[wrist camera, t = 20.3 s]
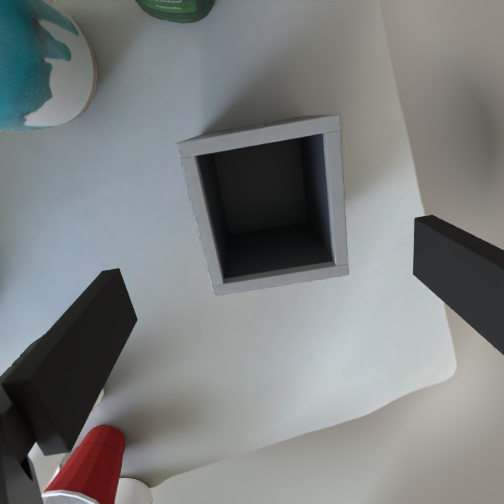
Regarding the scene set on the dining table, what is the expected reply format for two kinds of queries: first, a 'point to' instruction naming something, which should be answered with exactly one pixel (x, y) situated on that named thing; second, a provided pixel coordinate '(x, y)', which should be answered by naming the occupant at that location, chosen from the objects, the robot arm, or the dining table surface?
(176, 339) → the dining table surface
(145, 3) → the coffee jar
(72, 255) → the dining table surface
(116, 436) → the plastic cup
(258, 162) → the grey hollow box
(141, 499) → the alcohol
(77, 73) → the vase
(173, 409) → the dining table surface
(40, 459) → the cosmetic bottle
